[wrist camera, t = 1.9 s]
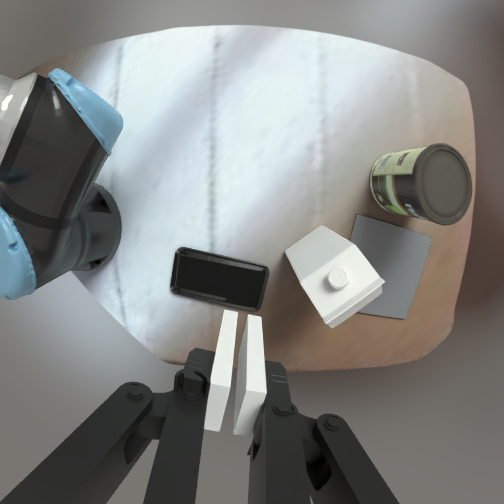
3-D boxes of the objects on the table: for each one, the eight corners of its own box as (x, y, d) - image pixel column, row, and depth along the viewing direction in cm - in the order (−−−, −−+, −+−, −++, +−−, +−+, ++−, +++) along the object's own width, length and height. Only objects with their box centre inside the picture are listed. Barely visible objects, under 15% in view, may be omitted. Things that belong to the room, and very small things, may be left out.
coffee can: (413, 220, 43) (464, 234, 29) (363, 204, 42) (407, 213, 29) (424, 163, 41) (477, 160, 27) (375, 143, 40) (422, 130, 26)
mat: (329, 306, 46) (330, 307, 46) (356, 213, 43) (357, 214, 42) (404, 318, 47) (404, 319, 47) (430, 236, 43) (431, 237, 43)
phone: (176, 246, 43) (271, 267, 44) (178, 245, 44) (270, 265, 45) (169, 292, 45) (259, 313, 45) (171, 290, 46) (259, 310, 47)
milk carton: (344, 260, 44) (397, 307, 26) (308, 285, 45) (341, 347, 27) (321, 224, 43) (368, 252, 25) (283, 250, 44) (306, 296, 25)
